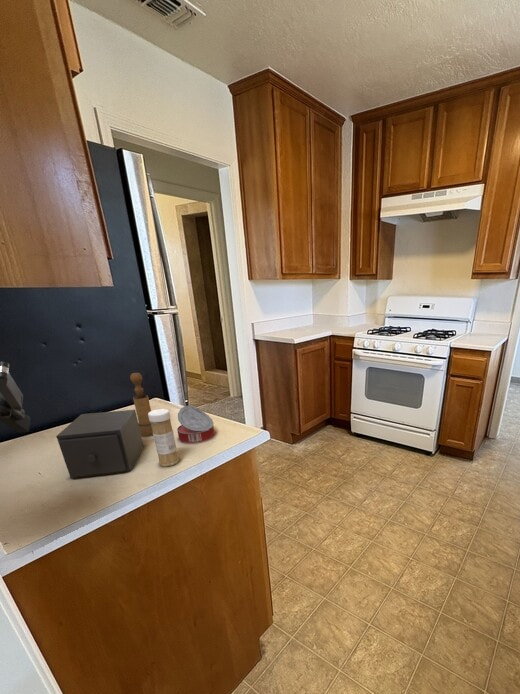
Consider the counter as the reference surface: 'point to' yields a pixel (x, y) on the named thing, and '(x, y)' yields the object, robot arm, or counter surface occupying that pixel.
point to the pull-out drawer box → (93, 454)
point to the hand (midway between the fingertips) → (24, 425)
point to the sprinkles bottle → (163, 437)
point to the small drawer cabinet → (109, 432)
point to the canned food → (194, 425)
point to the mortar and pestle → (141, 406)
